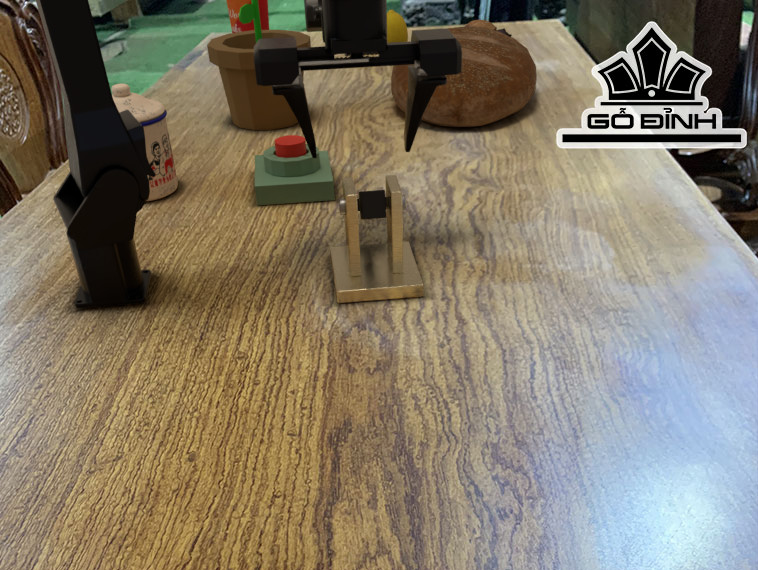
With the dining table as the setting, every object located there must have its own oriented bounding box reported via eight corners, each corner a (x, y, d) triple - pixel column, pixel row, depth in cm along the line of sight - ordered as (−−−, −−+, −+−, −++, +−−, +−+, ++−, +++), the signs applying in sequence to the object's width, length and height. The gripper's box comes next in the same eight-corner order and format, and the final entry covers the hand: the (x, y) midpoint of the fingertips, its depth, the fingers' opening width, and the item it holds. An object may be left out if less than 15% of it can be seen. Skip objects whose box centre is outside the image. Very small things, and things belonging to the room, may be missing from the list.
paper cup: (227, 67, 146) (214, -27, 137) (268, 61, 148) (259, -32, 139) (240, 76, 140) (228, -21, 131) (283, 70, 143) (274, -25, 133)
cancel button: (307, 159, 96) (305, 143, 95) (276, 161, 96) (274, 145, 95) (306, 149, 99) (304, 134, 98) (275, 151, 99) (274, 136, 97)
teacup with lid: (167, 205, 96) (145, 96, 88) (92, 203, 97) (64, 96, 89) (196, 169, 105) (178, 68, 98) (127, 169, 106) (105, 68, 98)
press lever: (343, 218, 86) (341, 193, 85) (386, 215, 86) (384, 190, 85) (349, 220, 75) (347, 192, 74) (399, 217, 75) (397, 188, 74)
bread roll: (475, 51, 150) (476, 28, 147) (444, 43, 155) (445, 21, 152) (517, 41, 154) (518, 18, 152) (486, 34, 159) (487, 12, 157)
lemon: (372, 65, 144) (370, 12, 138) (381, 57, 148) (380, 6, 142) (403, 66, 142) (402, 13, 137) (411, 59, 146) (411, 6, 141)
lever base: (330, 258, 84) (324, 169, 78) (409, 252, 84) (408, 163, 78) (337, 303, 76) (330, 208, 70) (423, 296, 77) (423, 201, 71)
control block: (334, 200, 96) (332, 164, 93) (256, 205, 95) (252, 170, 93) (328, 168, 104) (326, 135, 101) (257, 173, 103) (253, 139, 101)
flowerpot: (296, 137, 114) (271, -139, 94) (202, 131, 117) (158, -137, 98) (329, 108, 124) (313, -147, 105) (242, 103, 128) (210, -144, 108)
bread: (380, 132, 114) (378, 65, 109) (400, 66, 142) (400, 10, 137) (540, 132, 113) (546, 64, 107) (529, 65, 140) (534, 8, 135)
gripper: (443, -52, 78) (440, 124, 88) (245, -42, 77) (265, 135, 87) (465, -34, 70) (459, 157, 80) (243, -23, 68) (266, 170, 79)
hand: (361, 153), depth 82 cm, fingers open, 9 cm apart
